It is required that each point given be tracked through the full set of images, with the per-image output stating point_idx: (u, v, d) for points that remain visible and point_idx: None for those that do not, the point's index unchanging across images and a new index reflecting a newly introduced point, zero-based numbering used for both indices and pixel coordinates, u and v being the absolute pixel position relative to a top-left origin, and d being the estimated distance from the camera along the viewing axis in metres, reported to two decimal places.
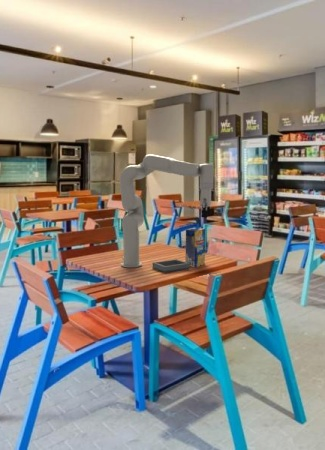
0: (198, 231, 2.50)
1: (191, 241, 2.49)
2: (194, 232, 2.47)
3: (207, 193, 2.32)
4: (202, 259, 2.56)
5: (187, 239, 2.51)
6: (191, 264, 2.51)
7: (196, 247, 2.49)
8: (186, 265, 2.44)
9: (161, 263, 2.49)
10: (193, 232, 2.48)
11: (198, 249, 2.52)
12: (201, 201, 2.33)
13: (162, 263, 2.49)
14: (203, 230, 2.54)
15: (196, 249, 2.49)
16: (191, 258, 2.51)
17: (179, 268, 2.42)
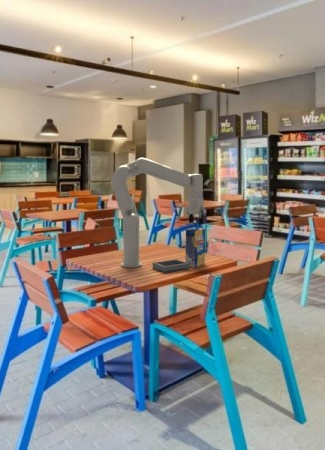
0: (198, 231, 2.50)
1: (191, 241, 2.49)
2: (194, 232, 2.47)
3: None
4: (202, 259, 2.56)
5: (187, 239, 2.51)
6: (191, 264, 2.51)
7: (196, 247, 2.49)
8: (186, 265, 2.44)
9: (161, 263, 2.49)
10: (193, 232, 2.48)
11: (198, 249, 2.52)
12: (199, 209, 2.47)
13: (162, 263, 2.49)
14: (203, 230, 2.54)
15: (196, 249, 2.49)
16: (191, 258, 2.51)
17: (179, 268, 2.42)
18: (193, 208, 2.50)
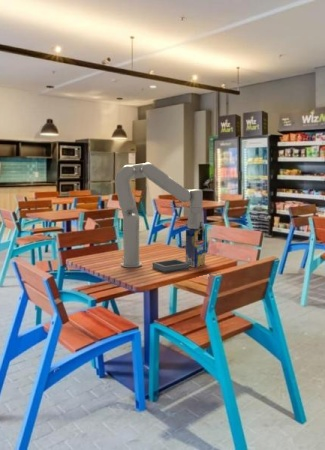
0: None
1: (191, 241, 2.49)
2: (194, 232, 2.47)
3: (202, 217, 2.49)
4: (202, 259, 2.56)
5: (187, 239, 2.51)
6: (191, 264, 2.51)
7: (196, 247, 2.49)
8: (186, 265, 2.44)
9: (161, 263, 2.49)
10: (193, 232, 2.48)
11: (198, 249, 2.52)
12: (198, 225, 2.48)
13: (162, 263, 2.49)
14: None
15: (196, 249, 2.49)
16: (191, 258, 2.51)
17: (179, 268, 2.42)
18: (192, 223, 2.51)
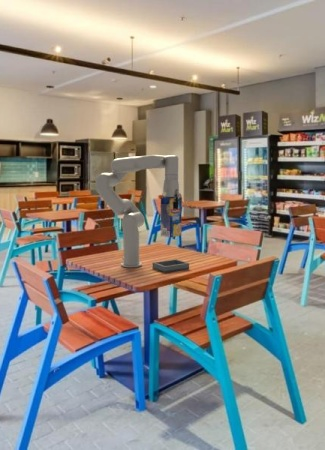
0: None
1: (166, 210, 2.37)
2: (169, 200, 2.35)
3: (178, 184, 2.37)
4: (178, 229, 2.43)
5: (162, 208, 2.39)
6: (166, 234, 2.39)
7: (171, 215, 2.36)
8: (186, 265, 2.44)
9: (161, 263, 2.49)
10: (168, 200, 2.35)
11: (174, 218, 2.39)
12: (173, 192, 2.35)
13: (162, 263, 2.49)
14: (179, 199, 2.42)
15: (171, 218, 2.37)
16: (166, 227, 2.38)
17: (179, 268, 2.42)
18: (168, 191, 2.38)
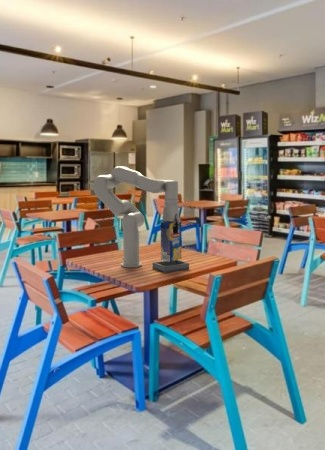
0: None
1: (166, 234, 2.39)
2: (169, 224, 2.37)
3: (177, 209, 2.39)
4: (178, 253, 2.45)
5: (162, 232, 2.40)
6: (167, 259, 2.40)
7: (171, 240, 2.38)
8: (186, 265, 2.44)
9: (161, 263, 2.49)
10: (168, 224, 2.37)
11: (174, 242, 2.41)
12: (173, 217, 2.37)
13: (162, 263, 2.49)
14: (179, 223, 2.43)
15: (171, 242, 2.39)
16: (167, 252, 2.40)
17: (179, 268, 2.42)
18: (167, 216, 2.40)
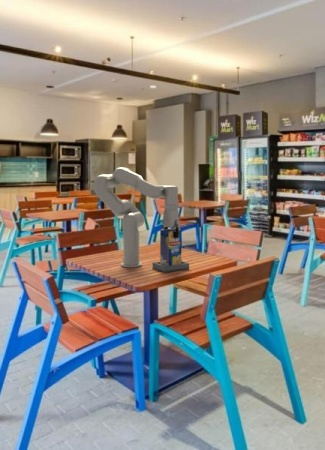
0: None
1: (165, 242, 2.40)
2: (168, 233, 2.38)
3: (177, 214, 2.39)
4: (178, 261, 2.45)
5: (161, 240, 2.41)
6: None
7: (170, 248, 2.39)
8: (186, 265, 2.44)
9: None
10: (167, 233, 2.38)
11: (173, 250, 2.41)
12: (173, 222, 2.38)
13: None
14: (179, 231, 2.44)
15: (170, 250, 2.39)
16: (165, 260, 2.41)
17: (179, 268, 2.42)
18: (167, 221, 2.41)
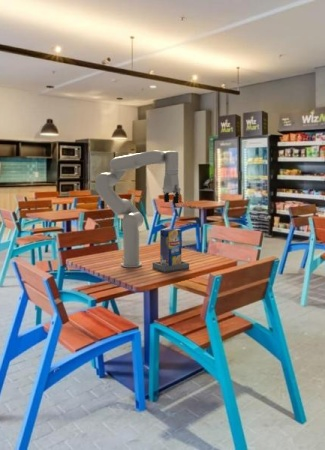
0: (173, 232, 2.39)
1: (165, 242, 2.40)
2: (168, 233, 2.38)
3: (177, 179, 2.38)
4: (178, 261, 2.45)
5: (161, 240, 2.41)
6: None
7: (170, 248, 2.39)
8: (186, 265, 2.44)
9: None
10: (167, 233, 2.38)
11: (173, 250, 2.41)
12: (173, 187, 2.37)
13: None
14: (179, 231, 2.43)
15: (170, 250, 2.39)
16: (165, 260, 2.41)
17: (179, 268, 2.42)
18: (168, 187, 2.40)
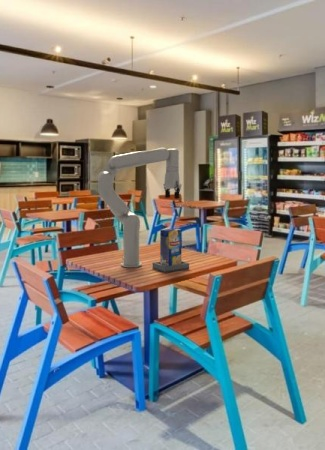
0: (173, 232, 2.39)
1: (165, 242, 2.40)
2: (168, 233, 2.38)
3: (178, 176, 2.51)
4: (178, 261, 2.45)
5: (161, 240, 2.41)
6: None
7: (170, 248, 2.39)
8: (186, 265, 2.44)
9: None
10: (167, 233, 2.38)
11: (173, 250, 2.41)
12: (174, 183, 2.50)
13: None
14: (179, 231, 2.43)
15: (170, 250, 2.39)
16: (165, 260, 2.41)
17: (179, 268, 2.42)
18: (169, 183, 2.53)
